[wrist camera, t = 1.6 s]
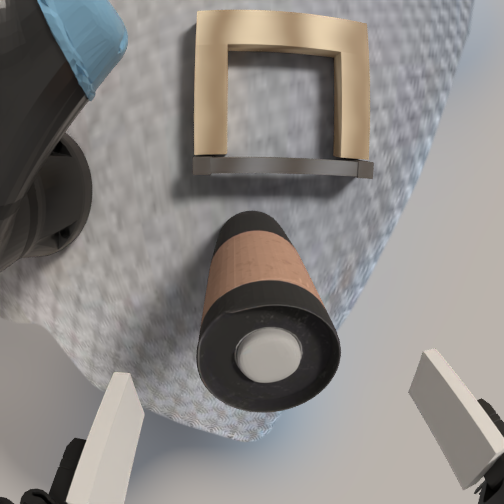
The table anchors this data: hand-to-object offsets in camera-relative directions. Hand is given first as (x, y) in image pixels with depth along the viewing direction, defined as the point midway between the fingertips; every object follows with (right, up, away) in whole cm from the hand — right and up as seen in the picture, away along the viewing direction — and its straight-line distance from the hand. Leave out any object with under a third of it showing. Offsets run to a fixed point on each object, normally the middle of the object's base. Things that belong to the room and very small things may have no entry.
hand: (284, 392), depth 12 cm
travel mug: (-2, +7, +22) cm, 23 cm away
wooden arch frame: (+2, +22, +16) cm, 27 cm away
